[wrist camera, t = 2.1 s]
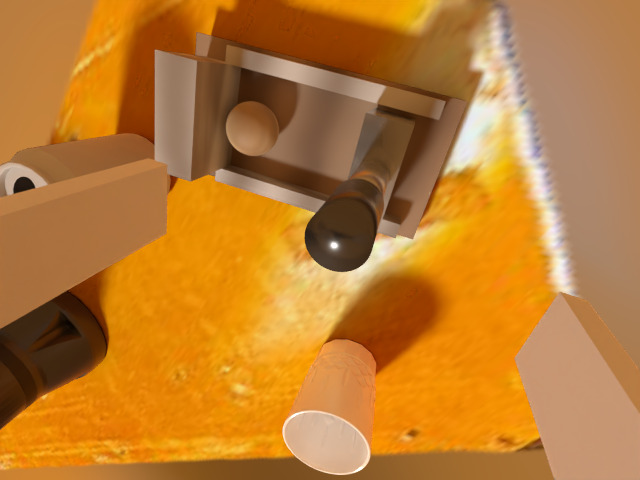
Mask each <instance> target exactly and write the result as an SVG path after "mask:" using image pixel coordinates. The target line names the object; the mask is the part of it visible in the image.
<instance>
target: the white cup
mask: <svg viewBox="0 0 640 480" xmlns="http://www.w3.org/2000/svg"><path fill="white" fill-rule="evenodd" d="M375 375H376V362H375V360H374V358H373V356H372V354H371V352H369V351H368V350H367V349H366V348H365V347H364V346H362V345H361V344H359V343H356V342H354V341H351V340H348V339H334V340H332V341H330V342H328V343H325V344H324V345H323V346H322V348H321V349H320V351H319V352H318V354H317V356H316V358H315V361H314V363H313V364H312V365H311V367H310V369H309V371H308V374H307V376H306V378H305V380H304V382H303V384H302V386H301V388H300V390H299V392H298V394H297V397H296V399H295V401H294V403H293V405H292V408H291V410H290V412H289V414H288V416H287V419H286V421H285V423H284V425H283V437H284V441H285V443H286V445H287V446H288V448H289V449H290V451H291V452H292V453H293V454H294V455H295V456H296V457H297V458H298V459H299V460H301V461H302V462H304V463H305V464H307V465H309V466H311V467H312V468H315V469H317V470H319V471H322V472H326V473H330V474H340V475H344V474H351V473H355V472H358V471H360V470H361V469H363V468H364V467H365V466H366V465H367V463H368V461H369V459H370V455H371V443H372V431H373V420H374V409H375V407H374V405H375V391H376V387H375Z"/></svg>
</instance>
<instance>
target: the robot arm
mask: <svg viewBox="0 0 640 480" xmlns="http://www.w3.org/2000/svg"><path fill="white" fill-rule="evenodd" d="M166 228H167V164H165V163H161V162H158V161H155V160H152V159H149V158H148V159H144V160H140V161H136V162H132V163H129V164H125V165H121V166H117V167H114V168H110V169H106V170H102V171H99V172H95V173H91V174H87V175H83V176H80V177H76V178H72V179H68V180H65V181H61V182H57V183H53V184H49V185H46V186H42V187H38V188H34V189H31V190H27V191H23V192H19V193H16V194H12V195H8V196H4V197H0V430H1V429H2V428H3V427H4V426H5V425H7V424H8V423H9V422H10V421H11V420H13V419H14V418H15V417H16V416H17V415H19V414H20V413H21V412H22V411H23V410H25V409H26V408H27V407H28V406H30V405H31V404H32V403H33V402H34V401H36V400H37V399H38V398H40V397H41V396H43V395H45V394H47V393H49V392H51V391H53V390H55V389H57V388H59V387H61V386H63V385H65V384H67V383H69V382H71V381H73V380H74V379H78V378H81V377H83V376H85V375H87V374H88V373H89V372H91V371H92V370H93V369H94V368H95V367H96V366H98V365H99V364H100V363H101V362H102V361H103V359H104V357H105V354H106V342H105V338H104V335H103V332H102V330H101V328H100V326H99V324H98V322H97V321H96V319H95V318H94V316H93V315H92V314H91V313H90V311H89V310H88V309H87V308H86V307H85V306H84V305H83V304H82V303H81V302H80V301H79V300H78V299H76V298H75V297H74V296H73V295H71V294H70V293H68V292H67V290H69V289H71V288H72V287H74V286H76V285H78V284H79V283H81V282H83V281H85V280H86V279H88V278H90V277H92V276H93V275H95V274H97V273H98V272H100V271H102V270H104V269H105V268H107V267H109V266H111V265H112V264H114V263H116V262H118V261H119V260H121V259H123V258H125V257H126V256H128V255H130V254H132V253H133V252H135V251H137V250H139V249H140V248H142V247H144V246H145V245H147V244H149V243H151V242H152V241H154V240H156V239H158V238H159V237H161V236H163V235H165V234H166ZM515 361H516V364H517V367H518V370H519V373H520V376H521V379H522V382H523V385H524V388H525V391H526V394H527V397H528V401H529V404H530V407H531V410H532V413H533V416H534V419H535V422H536V425H537V428H538V431H539V434H540V437H541V440H542V443H543V446H544V449H545V452H546V455H547V458H548V461H549V464H550V467H551V470H552V474H553V476H554V479H555V480H640V370H639V369H638V367H637V366H636V365H635V363H634V362H633V361H632V359H631V358H630V357H629V355H628V354H627V353H626V351H625V350H624V349H623V347H622V346H621V345H620V343H619V342H618V341H617V339H616V338H615V337H614V335H613V334H612V333H611V331H610V330H609V329H608V327H607V326H606V325H605V323H604V322H603V321H602V319H601V318H600V317H599V316H598V314H597V313H596V312H595V310H594V309H593V307H592V306H591V305H590V303H589V302H588V301H587V300H584V299H581V298H578V297H575V296H571V295H568V294H565V293H562V292H559V294H558V295H557V297H556V298H555V300H554V301H553V302H552V304H551V305H550V307H549V308H548V310H547V311H546V313H545V314H544V316H543V317H542V319H541V320H540V322H539V323H538V324H537V326H536V327H535V329H534V330H533V332H532V333H531V335H530V336H529V338H528V339H527V341H526V342H525V344H524V345H523V346H522V348H521V349H520V351H519V352H518V354H517V355H516V357H515Z"/></svg>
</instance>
